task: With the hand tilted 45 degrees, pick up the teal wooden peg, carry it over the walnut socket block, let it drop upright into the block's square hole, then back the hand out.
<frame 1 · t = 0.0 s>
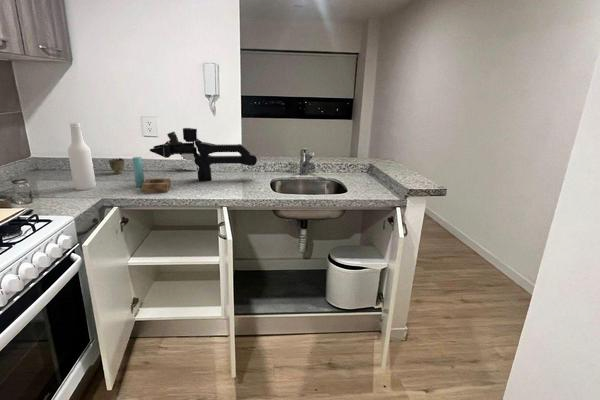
hand: (151, 148, 174), 17 cm above the countertop, tool horizontal, fingers open, 9 cm apart
cup: (118, 173, 192), on the countertop
peg: (140, 186, 168), on the countertop
alcohol: (85, 188, 162), on the countertop
socket: (157, 189, 163), on the countertop
small box: (190, 170, 206), on the countertop
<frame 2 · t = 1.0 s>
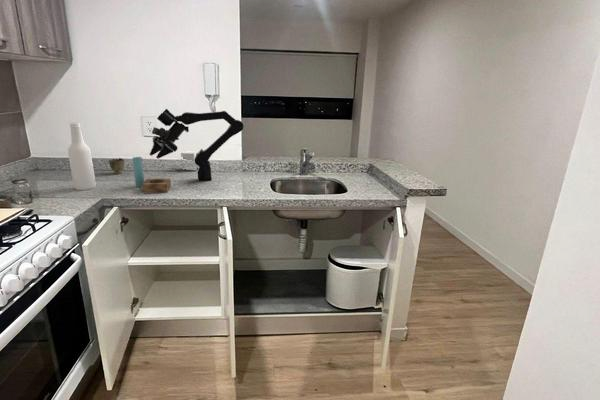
hand: (153, 156, 169), 14 cm above the countertop, tool tilted 45°, fingers open, 9 cm apart
nothing on the countertop moved.
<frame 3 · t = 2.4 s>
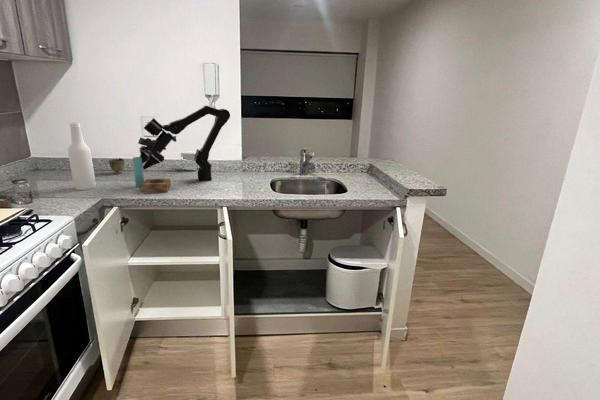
hand: (140, 167, 166), 9 cm above the countertop, tool tilted 45°, fingers open, 9 cm apart
nothing on the countertop moved.
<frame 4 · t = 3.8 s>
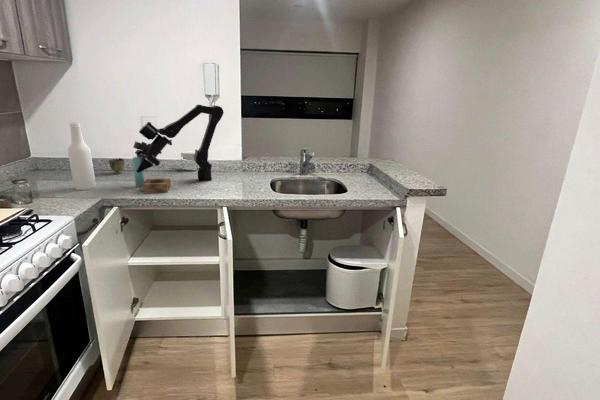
hand: (135, 171, 165), 8 cm above the countertop, tool tilted 45°, fingers closed on peg, 4 cm apart
peg: (140, 186, 168), on the countertop, touching gripper
everything else where it was.
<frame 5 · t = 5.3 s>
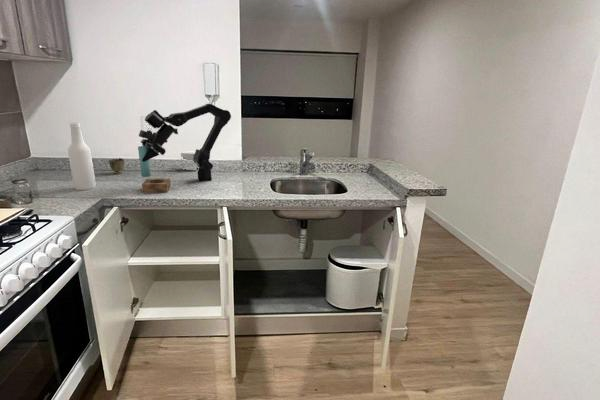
hand: (141, 160, 162), 13 cm above the countertop, tool tilted 45°, fingers closed on peg, 4 cm apart
peg: (146, 175, 165), point 6 cm above the countertop, touching gripper
everything else where it was.
when the fingers open (11 cm above the countertop, at t = 6.8 s): peg drops 3 cm, resting in socket.
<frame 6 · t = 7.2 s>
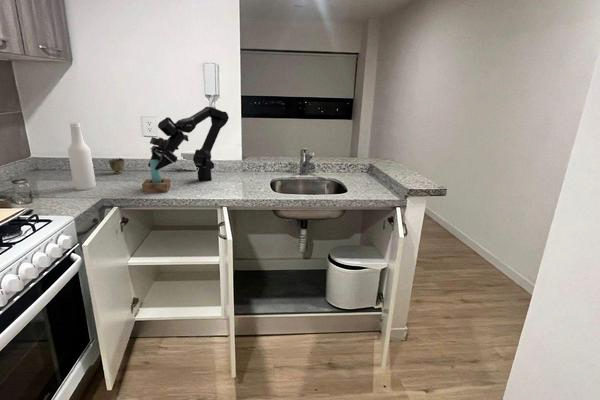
hand: (152, 167, 159), 11 cm above the countertop, tool tilted 45°, fingers open, 9 cm apart
peg: (157, 189, 163), resting in socket
everything else where it was.
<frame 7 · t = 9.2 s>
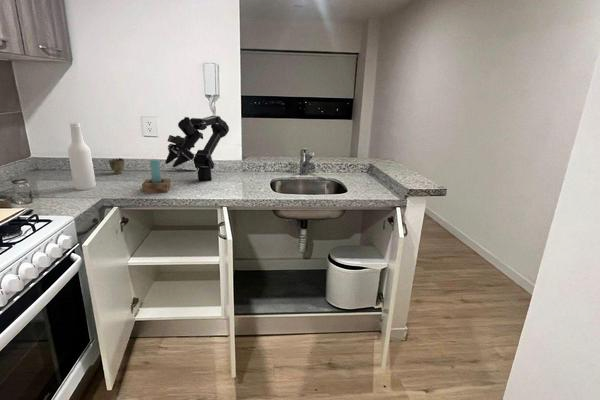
hand: (169, 165, 164), 11 cm above the countertop, tool tilted 45°, fingers open, 9 cm apart
nothing on the countertop moved.
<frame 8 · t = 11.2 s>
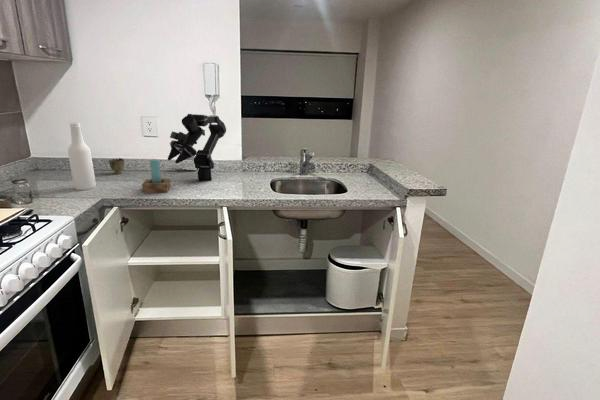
hand: (171, 161, 165), 13 cm above the countertop, tool tilted 45°, fingers open, 9 cm apart
nothing on the countertop moved.
at the end: peg 0.0 cm off-centre on the socket, point 0.0 cm above the socket's base; peg tilted 0°; the gripper is holding nothing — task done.
